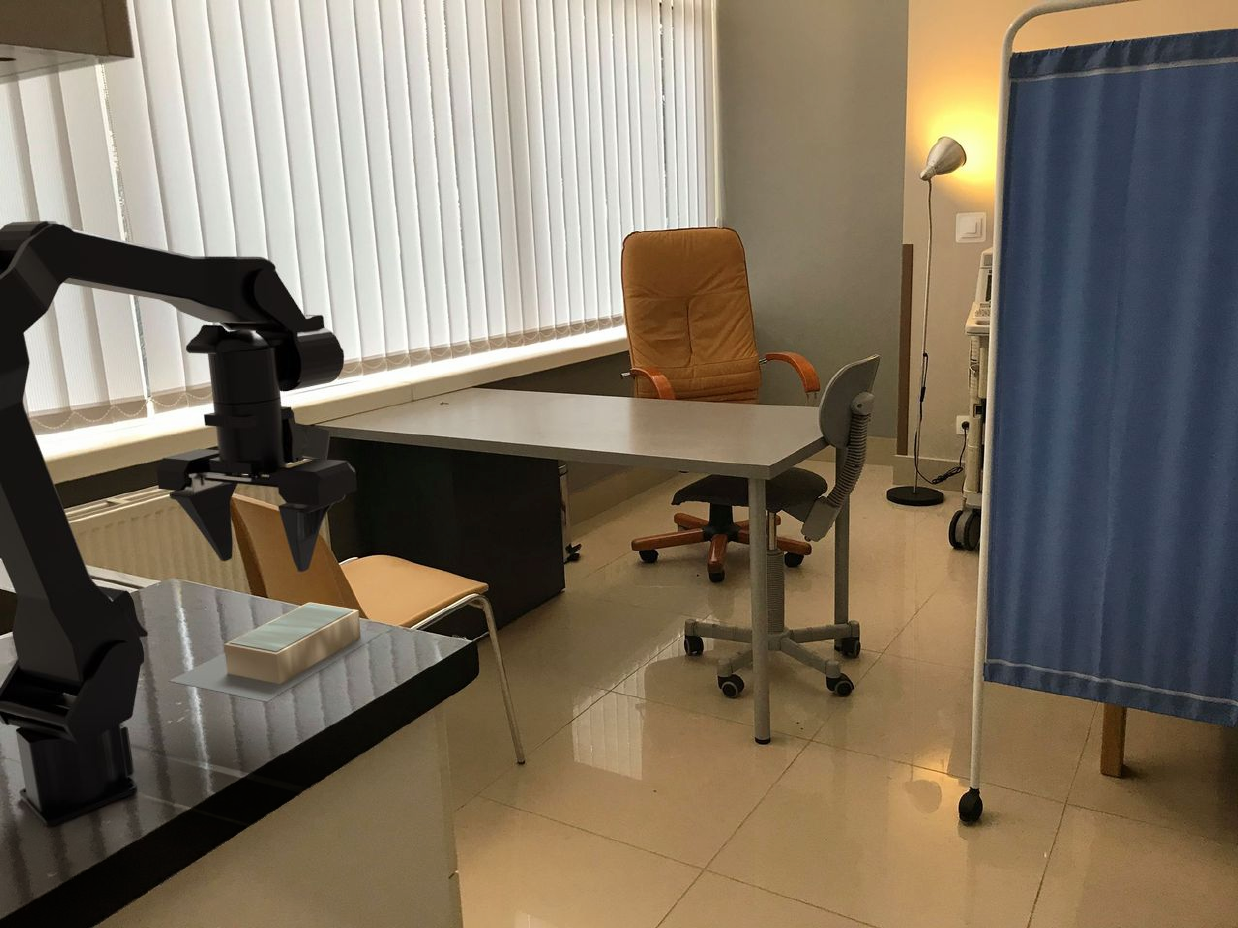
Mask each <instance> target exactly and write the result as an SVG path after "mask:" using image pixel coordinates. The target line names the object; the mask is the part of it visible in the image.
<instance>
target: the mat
mask: <svg viewBox="0 0 1238 928" xmlns="http://www.w3.org/2000/svg"><path fill="white" fill-rule="evenodd" d="M360 634H361V637H360V638H359V639H357V640H355V641H353V642H352V643H350V644H348V645H346V646H345V647H343V648H341V649H340V650H338V651H336V652H334V653H333V654H331V655H329V656H327V657H326V658H324V659H322V660H321V661H319V662H317V663H315V664H314V665H312V666H310V667H308V668H307V669H305V670H303V671H301V672H300V673H298V674H296V675H295V676H293V677H291V678H289V679H288V680H286V681H284V682H282V683H281V684H277V683H272V682H267V681H262V680H257V679H253V678H248V677H243V676H238V675H233V674H228V673H227V665H226V657H225V652H224V653H221V654H220V655H218V656H215V657H213V658H212V659H209V660H208V661H206V662H204V663H202V664H200V665H197V666H195V667H194V668H192V669H190V670H188V671H186V672H184V673H182V674H179V675H178V676H176V677H174V678H172V679H169V682H171V683H175V684H179V685H185V686H190V687H195V688H198V689H203V690H206V691H207V690H209V691H212V692H213V691H214V692H217V693H221V694H227V695H232V696H236V697H241V698H245V699H250V700H253V701H254V700H255V701H260V702H265V703H268V702H269V701H271V700H273V699H274V698H276V697H278V696H280V695H281V694H283V693H284V692H287V691H288V690H290V689H291V688H293V687H295V686H298V684H300V683H301V682H303V681H305V680H307V679H309V678H310V677H312V676H314V675H315V674H317V673H318V672H320V671H322V670H323V669H325V668H327V667H328V666H330V665H332V664H334V663H335V662H337V661H339V660H341V659H342V658H344V657H345V656H347V655H349V654H350V653H352V652H354V651H355V650H356V649H359V648H360V647H362V646H364V645H366V644H367V643H369V642H370V641H372V640H374V639H376V638H377V637H379V636H380V635H382V634H383V633H382V632H376V631H372V630H371V631H370V630H365V629H360Z"/></svg>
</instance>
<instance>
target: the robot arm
mask: <svg viewBox="0 0 1238 928" xmlns="http://www.w3.org/2000/svg"><path fill="white" fill-rule="evenodd" d="M276 269H277V268H276V265H275V264H274V263H273V262H272V261H271V260H270V259H267V258H265V257H263V256H236V255H235V256H221V255H219V256H214V255H213V256H212V255H211V256H205V255H204V256H200V255H199V256H198V255H194V256H193V255H192V256H191V255H189V254H183V253H180V252H176V251H175V252H174V251H172V250H165V249H162V248H157V247H153V246H149V245H144V244H141V243H137V242H136V243H135V242H132V241H127V240H122V239H118V238H115V237H110V236H106V235H102V234H101V235H100V234H96V233H94V232H93V233H92V232H89V231H85V230H79V229H74V228H71V227H68V226H66V225H65V224H63V223H61V222H59V221H56V220H37V221H35V220H34V221H12V222H9V223H7V224H4V225H3V227H1V228H0V558H1V561H2V563H3V566H4V568H5V570H6V572H7V575H8V578H9V581H10V582H11V585H12V587H13V590H14V592H15V594H16V598H17V607H16V613H15V617H14V622H13V627H12V633H11V634H12V638H13V642H14V648H15V652H16V656H17V660H16V661H15V663H14V664H13V666H12V668H11V669H10V671H9V672H8V674H7V676H6V678H5V679H4V681H3V682H2V684H1V685H0V723H1V724H2V725H6V726H9V725H11V726H14V727H17V728H16V729H15V734H16V740H17V747H18V753H19V758H20V762H21V763H20V764H21V768H22V769H21V770H22V775H23V780H24V781H23V782H24V786H25V787H24V788H22V789H20V791H19V797H20V799H21V800H22V802H24V803H25V805H26V806H27V807H28V808H29V809H30V810H31V811H32V813H34V814H35V816H37V817H38V818H39V819H40V821H42V823H43V824H45V825H46V826H49V827H51V826H55V825H58V824H61V823H63V822H65V821H68V820H70V819H72V818H75V817H78V816H81V815H83V814H85V813H88V812H90V811H92V810H95V809H99V808H100V807H103V806H106V805H107V804H110V803H112V802H115V801H117V800H118V801H119V799H123V798H125V797H128V796H130V795H132V794H134V793H136V792H138V789H139V788H138V784H137V782H135V781H134V780H133V779H132V778H131V777H130V776H132V775H133V774H134V772H135V769H134V762H133V755H132V749H131V740H130V734H129V728H128V726H126V725H125V724H124V723H125V722H126V721H128V720H130V719H131V718H132V717H133V714H134V709H135V703H136V696H137V691H138V685H139V679H140V673H141V667H142V666H143V665H144V663H145V660H146V659H145V657H146V652H145V647H144V643H143V640H142V638H145V637H147V636H148V635H149V633H148V631H147V630H146V629H145V628H143V626H142V625H141V623H140V621H139V619H138V615H137V612H136V606H135V602H134V599H133V597H132V595H131V593H130V592H129V591H128V590H124V589H119V588H113V587H109V586H108V587H107V586H101V585H97V584H96V583H95V582H94V580H93V579H92V578H91V576H90V572H89V571H88V568H87V565H86V563H85V560H84V558H83V555H82V552H81V550H80V548H79V545H78V543H77V539H76V538H75V535H74V532H73V529H72V527H71V525H70V522H69V519H68V516H67V513H66V512H65V509H64V505H63V503H62V501H61V499H60V496H59V494H58V491H57V488H56V486H55V483H54V481H53V478H52V475H51V472H50V470H49V467H48V465H47V463H46V459H45V457H44V455H43V452H42V449H41V447H40V445H39V441H38V439H37V437H36V434H35V432H34V429H33V426H32V424H31V422H30V419H29V416H28V412H27V410H26V408H25V403H24V395H25V391H26V385H27V380H28V375H29V369H30V364H31V363H30V356H29V351H28V347H27V341H26V337H25V332H26V331H28V330H29V329H30V328H32V326H33V325H34V324H35V323H36V322H38V321H40V319H41V318H42V317H43V316H45V315H46V313H47V312H48V311H49V310H50V307H51V305H52V303H53V300H54V298H55V297H56V294H57V292H58V290H59V288H60V286H61V285H62V284H66V285H73V286H80V287H85V288H90V289H91V288H92V289H97V290H103V291H107V292H114V293H120V294H126V295H131V296H137V297H143V298H148V299H153V300H159V301H162V302H164V303H167V304H170V305H171V306H173V307H174V308H175V309H176V310H177V311H179V312H181V313H183V314H185V315H188V316H191V317H193V318H196V319H199V320H201V321H204V322H207V323H214V324H203V325H201V328H200V330H199V332H198V333H197V334H196V336H194V337H193V338H192V339H191V340H190V341H189V342H188V343H187V345H186V346H185V349H186V352H187V353H189V354H201V355H202V354H205V355H206V354H207V359H208V369H209V375H210V376H209V377H210V378H209V380H210V386H211V396H212V404H213V405H212V406H213V412H209V413H204V414H203V419H204V426H206V427H215V430H216V438H217V439H216V441H217V449H218V450H215V449H203V448H198V449H193V450H190V451H187V452H182V453H178V454H174V455H170V456H167V457H162V459H161V461H160V462H159V464H158V466H157V468H156V478H157V487H158V490H165V491H170V492H169V493H168V494H169V499H171V500H176V501H177V503H178V504H179V506H180V507H181V508H182V510H184V512H185V513H186V514H187V515H188V516H189V517H190V519H191V520H192V522H193V523H194V524H195V525H196V528H197V529H199V532H201V534H202V535H203V536H204V539H206V541H207V542H208V544H209V546H210V547H211V548H212V550H213V551H214V553H215V554H216V556H217V557H218V558H219V560H220V561H221V562H227V561H230V560H232V559H233V552H234V551H233V547H234V545H233V528H232V526H233V525H232V514H231V513H232V512H231V499H232V497H233V494H234V493H235V491H236V489H237V486H238V485H239V484H240V485H248V486H256V487H265V488H266V487H268V488H277V489H278V490H277V491H278V495H280V497H281V499H283V501H285V503H283V504H280V505H278V506H277V508H278V512H279V515H280V519H281V522H282V525H283V529H284V532H285V535H286V541H287V543H288V547H289V550H290V555H291V557H292V560H293V562H294V565H295V567H296V569H297V572H299V573H304V572H306V571H307V570H309V569H310V566H311V562H312V559H313V555H314V552H315V549H316V544H317V541H318V537H319V534H320V531H321V527H322V525H323V522H324V520H325V517H326V515H327V513H328V511H329V510H331V509H330V508H331V507H332V506H333V505H334V504H335V503H338V502H342V501H343V500H344V499H345V498H346V495H349V494H350V493H354V492H357V491H358V490H357V489H358V487H357V473H356V471H355V468H354V467H353V466H352V465H351V464H350V463H349V461H347V460H339V459H338V460H335V459H327V458H328V453H329V445H330V437H331V433H332V432H331V431H330V430H328V429H323V428H320V427H316V426H311V425H308V424H303V423H298V422H296V420H295V419H296V418H295V412H294V410H293V409H292V406H284V405H282V398H281V392H283V393H284V392H291V391H294V390H295V391H296V390H300V389H306V388H310V387H315V386H319V385H324V384H328V383H329V384H330V383H331V382H335V381H336V380H337V379H338V377H339V376H340V375H341V373H342V371H343V368H344V364H345V351H344V349H343V347H342V346H341V344H340V341H339V340H338V338H337V336H336V335H335V334H334V333H333V332H332V331H331V330H330V329H328V328H327V327H325V317H324V316H323V315H322V314H304V313H303V311H302V309H301V308H300V307H299V305H298V304H297V303H296V301H295V299H294V298H293V296H292V294H291V292H289V290H288V288H287V286H286V285H285V284H284V282H283V280H282V279H281V278H280V276H279V274H278V272H277V270H276ZM215 323H219V324H215ZM304 460H309V461H306V462H303V461H304ZM300 462H303V463H300ZM296 463H297V464H296ZM298 463H299V464H298ZM289 464H295V465H292V466H290V467H288V466H287V465H289ZM171 491H172V492H171Z"/></svg>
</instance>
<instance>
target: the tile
mask: <svg viewBox="0 0 1238 928" xmlns="http://www.w3.org/2000/svg"><path fill="white" fill-rule="evenodd" d="M360 630H361V623H360V612H359V609H354V608H353V609H352V608H346V607H341V606H334V605H329V604H328V605H327V604H323V603H321V604H320V603H315V602H307V603H305V604H303V605H301V606H299V607H296V608H295V609H293V610H290V611H289V612H287V613H285V614H283V615H281V616H279V617H276V618H274V619H273V620H270V621H268V622H266V623H264V624H263V625H261V626H259V627H256V628H254V629H252V630H251V631H248V632H246V633H244V634H242V635H240V636H238V637H237V638H234V639H232V640H230V641H227V642H226V643H224V644H223V647H224V653H225V657H226V665H227V673H228V674H233V675H238V676H243V677H248V678H253V679H257V680H262V681H267V682H272V683H277V684H281V683H282V682H284V681H286V680H288V679H289V678H291V677H293V676H295V675H296V674H298V673H300V672H301V671H303V670H305V669H307V668H308V667H310V666H312V665H314V664H315V663H317V662H319V661H321V660H322V659H324V658H326V657H327V656H329V655H331V654H333V653H334V652H336V651H338V650H340V649H341V648H343V647H345V646H346V645H348V644H350V643H352V642H353V641H355V640H357V639H359V638H360V637H361V634H360Z"/></svg>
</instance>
